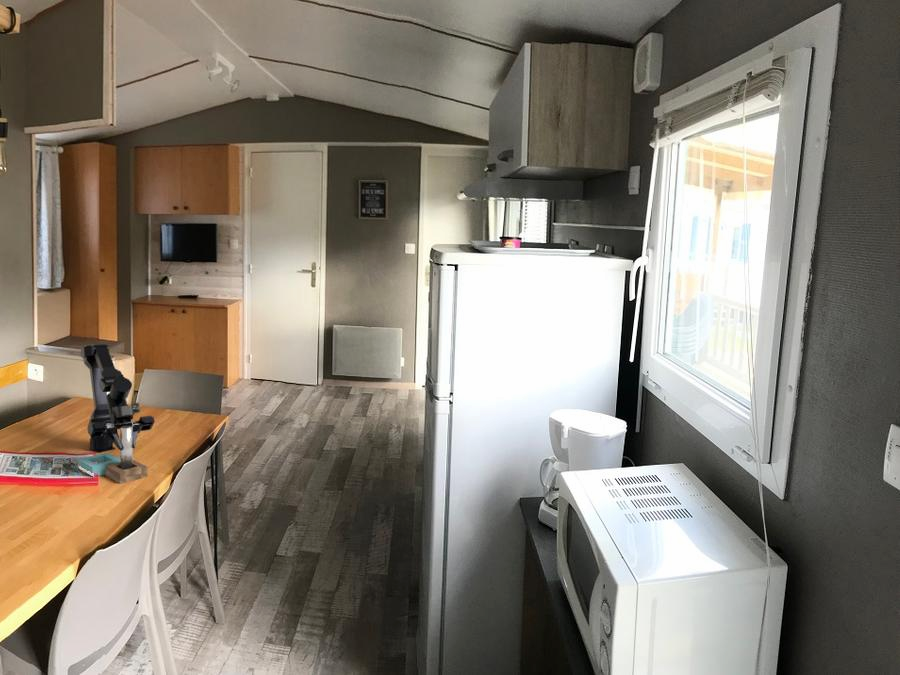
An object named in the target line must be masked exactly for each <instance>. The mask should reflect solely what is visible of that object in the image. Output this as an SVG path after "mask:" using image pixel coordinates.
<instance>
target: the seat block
mask: <svg viewBox="0 0 900 675" xmlns="http://www.w3.org/2000/svg"><path fill="white" fill-rule="evenodd" d="M94 462H97V464H96V463H94ZM116 463H120V457H118V456H116V455H114V454H112V453H110V452H102V453H98V454H95V455H90V456H85V457H80V458H77V466H78V465H79V466H81V467H82V468H84V469H86V470H87V471H90V472H91V473H97V474H98V476H97V477H100V476H103V475H105V476H106V466H107V465H111V464H116Z"/></svg>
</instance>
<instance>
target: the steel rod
mask: <svg viewBox="0 0 900 675" xmlns="http://www.w3.org/2000/svg"><path fill="white" fill-rule="evenodd" d="M119 430H120V435H119V436H120V437H119V439H120V442H121V445H122V450H121V451H120V450H119V451H120V456H119V458H120V469H122V470H125V469H129V468H133V460H134V459H133V456H134V453H133V450H134V449H133V427H132V426H122V427H120V429H119Z"/></svg>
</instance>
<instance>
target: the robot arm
mask: <svg viewBox="0 0 900 675" xmlns="http://www.w3.org/2000/svg"><path fill="white" fill-rule="evenodd" d="M80 357H81V358H82V361H83V364H84V365H85V367H86V368H88V369H89V372H90V373H89V375H90V382H91V389H92V391H91V392H92V398H93V406H94V408H93V410H92V413H91V415H90V419H89V421H88V424H87V433H88V435H89V437H90V438H89V447H88V448H89V450H91V451H93V452H95V453H97V454H101V453H106V452H109V451H113V450H116V448H117V449H118V450H119V451H121V450H122V445H121V442H120V437H119V436H120V435H119V433H118V432H119V430H120V427H122V426H132V427H133V450H134V449H136V444H137V438H138V435H139V434H140V432H144V431H146V432H147V431H150V430H152V428H153V426H154V424H155V418H154V416H152V415H144V416H142V415H141V416H140V417H139V420H133V419H134V416H135V414H138V413H140V411H141V408H140V404H139V402H133V403H131V405H129V404H128V402H127V398H128V397H129V395H130V392H131V389H132V387H133V384H132V381H131V380H130V379H129V378H127V377H125V376H124V374H123V373H122V371H121V370H119V369H117V368H116V367H115V364H114V362H113V359H112V356H111V353H110V345H109V344H106V343H97V344H84V346H83V347H81V348H80ZM132 420H133V421H132Z"/></svg>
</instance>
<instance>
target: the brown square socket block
mask: <svg viewBox="0 0 900 675" xmlns="http://www.w3.org/2000/svg"><path fill="white" fill-rule="evenodd" d="M105 477H107V478H109V479H110V480H113V481H114V482H116V483H118V484H124V483H129V482H132V481H136V480H140V479H143V478H147V477H148V466H147V465H145V464H143V463H140V462H138V461H137V460H135V459H133V468H129V469H125V470H122V469H120V463H116V464H111V465H107V466H106V474H105Z"/></svg>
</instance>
